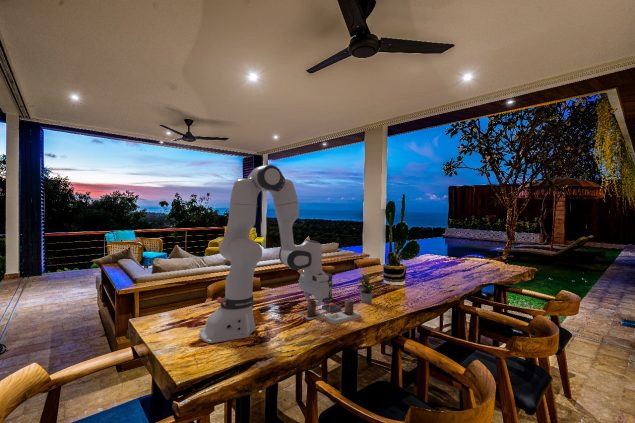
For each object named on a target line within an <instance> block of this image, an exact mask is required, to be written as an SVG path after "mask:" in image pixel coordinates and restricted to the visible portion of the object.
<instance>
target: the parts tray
mask: <svg viewBox="0 0 635 423" xmlns="http://www.w3.org/2000/svg"><path fill="white" fill-rule="evenodd" d="M305 314H307V310H306V311H301V312H298V315H300V316H301V317H303V318H305V319H306V320H308V321H310V320H314V319H319V318H324V316H326V315H325V313H322V312H320V311H318V310H316V314H319V315H317V316H313V317H309V316H307V315H305Z"/></svg>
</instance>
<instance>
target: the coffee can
mask: <svg viewBox="0 0 635 423" xmlns="http://www.w3.org/2000/svg"><path fill="white" fill-rule="evenodd" d="M325 273H326V274H327V275H328V276H329V280H328V284H329V296H328V297H327V298H324V299H323V300H322V302H332V300H333V274H332V273H329V272H325ZM313 296H314V295H313ZM313 300H315V301H318V297H317V296H314V297H313Z"/></svg>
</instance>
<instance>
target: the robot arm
mask: <svg viewBox="0 0 635 423" xmlns="http://www.w3.org/2000/svg"><path fill="white" fill-rule="evenodd" d="M260 192H269V194H270V195H271V196H272V197H271V198H272V201H273V207H274V211H275V212H274V213H275V216H276V220H277V224H278V225H277V226H278V232H279V233H278V234H279V240H280V248H279V252H278V253H279V254H278V259H279V261H280V263H281V264H282V265H284V266H287V267H288V268H290V269H291V270H295V271H298V270H302V271H301V272H300V276H299V279H298V288H299V290H301V291H303V294H304V298H305V299H304V300H305V301H307V302H308V301H309V300H311V298H310V294H311V296H317V297H318V300H317V301H316V307H322V302H323V301H322V300H323V299H324V298H327V297H328V296H329V284H328V280H329V276H328V275H327V274H326V273H327V272H325V271H324V270H323V266H322V265H323V264H322V261H323V248H322V245H321V243H320V242H319V241H316V240H311V239H307V240H305V241H304V242H303V243H301V244H299V245H298V246H296V245H295V243H294V234H293V225H294V224H295V222H296V220H298V218H299V216H300V205H299V200H298V195H297V190H296V187H295V186H294V182H293V181H292V180H290V179H288V178H285V176H284V175H283V173H282V171H281V170H280V169H279V167H277V166H275V165H274V164H264V165H260V166H257V167H255V168H253V169H252V170H251V171H250V172H249V173H248V175H247V176H246V178H239V179H237V180H235V182H233V186H232V189H231V194H230V200H229V210H228V211H229V213H228V221H227V225H226V229H225V232H224V235H223V238H222V240H221V241H220V243H219V246H218V251H219V254H220V255H221V257H223V258H224V259H225V260H227V261H228V262H230V269H229V272H228V275H227V276H226V277H225V289H224V290H225V291H224V292H225V294H224V295H225V296H224V297H223V298H222V297H221V296H219V297H217V298H216V301H217V302H218V303H219V304H220V306H219V307H218V308H217V309H216V310H214V311H213V312H212V313H210V315H208V317H207V318H206V321H205V325H204V326H205V327H202V328H201V329H200V330H199V333H198V336H199V337H200V339H201V340H202V341H203V342H205V343H208V344H214V343H220V342H226V341H232V340H238V339H239V340H240V339H244V338H245V339H246V338H249V337H250V335H251V334H252V333H253V332H255V331H256V328H257V327H256V323H255V319H254V310H253V308H254V301H255V300H254V294H253V285H254V284H253V281H254V275H255V269H256V267H257V264H259V262H260V261H261V259H262V258H263V257H262V256H263V249H262V247H261V245H260V244H259V243H257V242H256V241H255V240H253V239H251V238H249V237H250V234H251V230H252V229H253V227H254V226H255V225H256V220H257V219H256V217H257V205H258V196H259V194H260Z"/></svg>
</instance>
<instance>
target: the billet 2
mask: <svg viewBox="0 0 635 423" xmlns="http://www.w3.org/2000/svg"><path fill="white" fill-rule="evenodd" d="M344 311H345V315H347V316H351V315H353V311H354V301H353V300H349V299H348V300H344Z"/></svg>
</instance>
